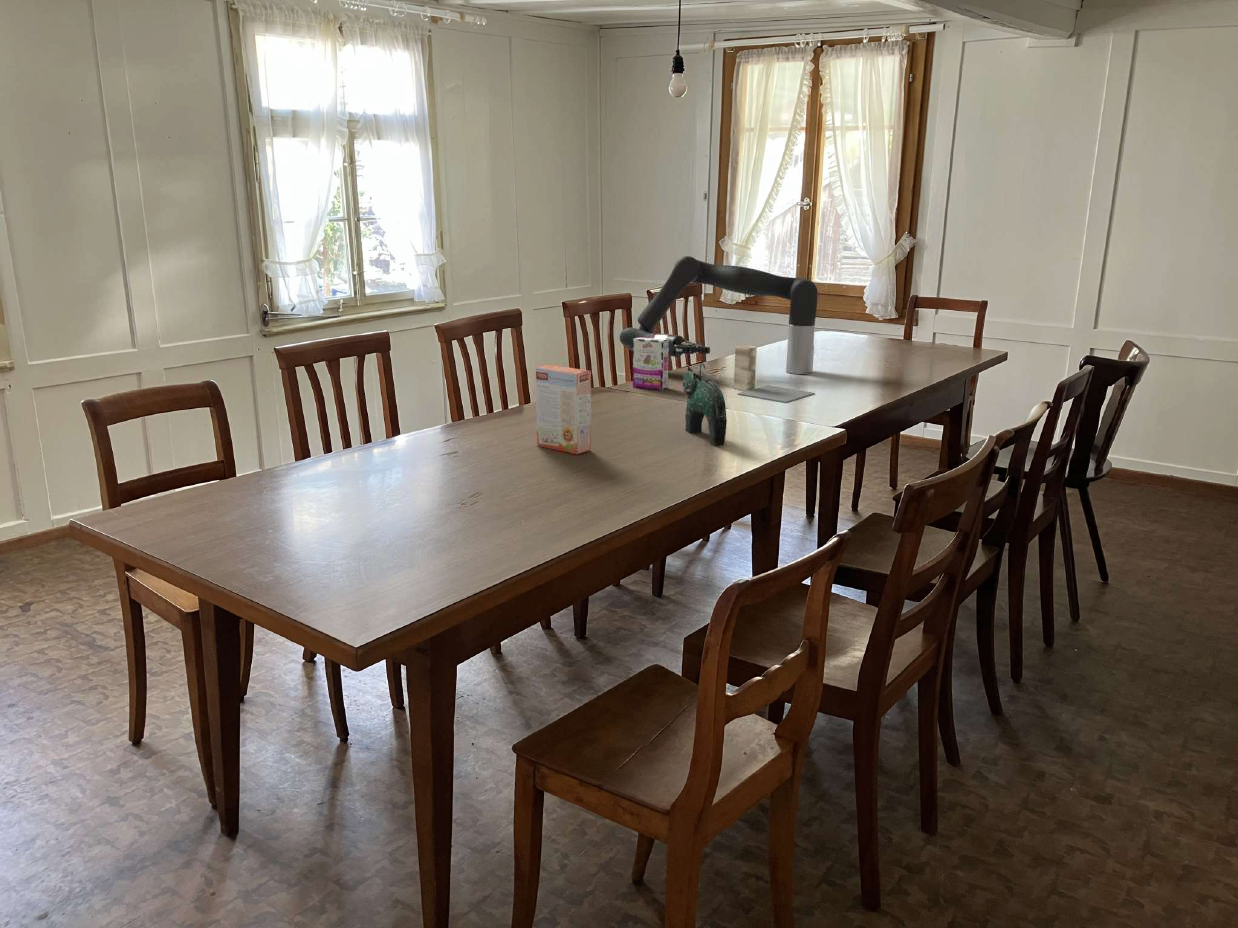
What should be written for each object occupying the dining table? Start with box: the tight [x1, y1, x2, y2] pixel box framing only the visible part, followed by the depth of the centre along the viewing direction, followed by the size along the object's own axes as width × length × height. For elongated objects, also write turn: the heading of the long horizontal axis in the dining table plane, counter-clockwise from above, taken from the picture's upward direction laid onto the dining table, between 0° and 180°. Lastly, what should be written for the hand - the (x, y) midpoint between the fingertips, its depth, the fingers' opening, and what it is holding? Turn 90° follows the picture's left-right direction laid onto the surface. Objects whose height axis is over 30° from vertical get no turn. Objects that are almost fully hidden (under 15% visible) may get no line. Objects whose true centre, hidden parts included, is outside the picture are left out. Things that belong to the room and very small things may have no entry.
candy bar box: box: [632, 337, 669, 391], centre depth 322 cm, size 11×5×16 cm, turn 62°
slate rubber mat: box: [737, 384, 816, 404], centre depth 316 cm, size 18×18×1 cm
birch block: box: [733, 344, 758, 392], centre depth 322 cm, size 5×5×14 cm
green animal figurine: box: [682, 362, 728, 447], centre depth 260 cm, size 20×6×20 cm, turn 21°
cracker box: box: [535, 364, 592, 455], centre depth 247 cm, size 14×6×21 cm, turn 51°
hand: (708, 350), depth 330 cm, fingers closed
